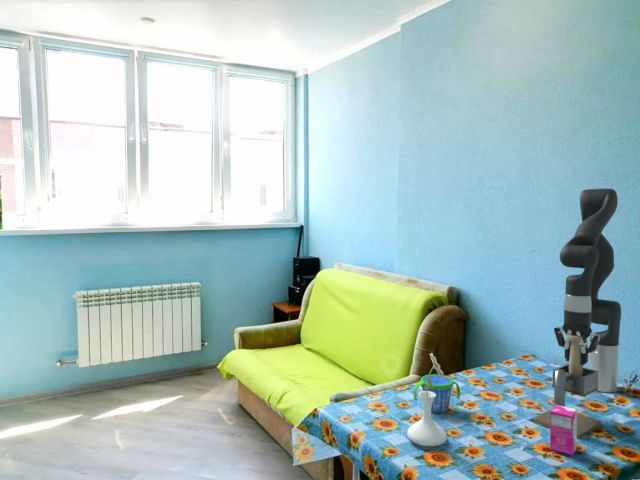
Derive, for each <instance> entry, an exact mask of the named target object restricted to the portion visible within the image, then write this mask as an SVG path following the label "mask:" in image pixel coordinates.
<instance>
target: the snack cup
mask: <svg viewBox="0 0 640 480" xmlns="http://www.w3.org/2000/svg"><path fill="white" fill-rule="evenodd" d="M428 375H429V374H426V375H423V376H422V377H421V378H420V380H419V381H417V382H416V383H415V386H414V388H413V398H414V401H416V402H417V401H418V396H417V390H418V389H419V387H420V386H421V388H422V391H427V389H423V388H425V387H427V377H428ZM444 377H445V378H441V377H440V375H439V374H437V373H434V374H430V376H429V378H430V379H431V382H432V385H431V386H432V387H430V388H428V391H431V392H434V393H435V394H436V397H435V398H434V399H433V402H432V407H431V411H432V412H431V413H434V412H435V414H436V413H437V414H440V413H441V414H442V413H446V412H447V411H449V409H450V408H449V406H450V401H451V395H452V389H453V387H454V385H455V386H456V393H455V397H456V399H458V400H459V399H461V388H460V385H459V384H458V383H457V381H455V380H454V379H452V378H451V377H449V376H446V375H444ZM428 385H429V383H428Z"/></svg>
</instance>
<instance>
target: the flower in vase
mask: <svg viewBox="0 0 640 480" xmlns="http://www.w3.org/2000/svg"><path fill="white" fill-rule="evenodd" d="M429 357H430V359H431V361H432V368H431V369H430V371H429V373H428V374H427V375H428V377H427V387H425V388H422V390H421V391H419V392H418V393H417V394H418V396H419V397H420V399H421V402H422V412H423V413H422V417H421V419H419V420H418V421H416V422H415V423H413V424H412V425H411V426H409V427H408V428H407V431H406V435H407V437H408V439H409V440H410V441H411V442H413V443H415V444H418V445H420V446H424V447H425V446H426V447H437V446H441V445H442V444H445V442H446V441H447V439H448V435H447V433H446V431H445V430H444V429H443V427H441V426H440V425H439V424H437V423H436V422H435V421H434V420H433V418H432V412H431V407H432V402H433V399H434V398H435V397H436V394H435V393H434V392H431V391H428V388H430V387H432V386H431V385H432V382H431V379H430V378H429V376H430V375H431V373H432V371H433V370H436V372H437V375H440V377H441V378H445V377H444V376H445V375H444V374H445V373H444V371H442V369H441V365H440V364H439V363H438V362H437V361H438V360H437V357H436V356H434V353H433V352H431V353H429ZM428 383H429V385H428ZM423 389H427V391H423Z"/></svg>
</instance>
